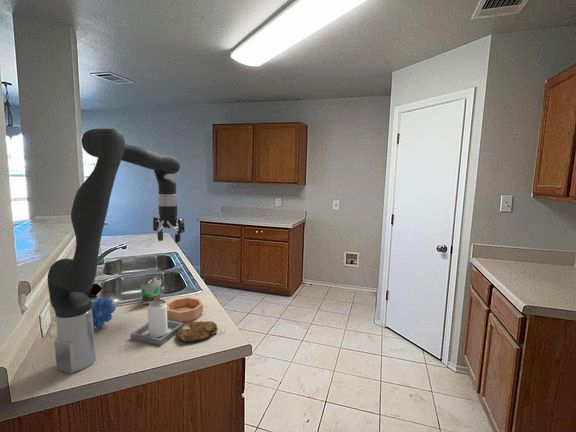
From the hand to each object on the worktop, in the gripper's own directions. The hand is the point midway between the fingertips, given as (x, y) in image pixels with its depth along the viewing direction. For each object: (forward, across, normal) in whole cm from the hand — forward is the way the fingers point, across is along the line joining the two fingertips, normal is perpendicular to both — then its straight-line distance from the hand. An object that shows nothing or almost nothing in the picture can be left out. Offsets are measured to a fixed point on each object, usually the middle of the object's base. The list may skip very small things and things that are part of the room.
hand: (169, 241), depth 136 cm
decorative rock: (+30, +25, -18) cm, 43 cm away
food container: (+29, -10, +1) cm, 31 cm away
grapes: (+29, -13, -26) cm, 41 cm away
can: (+29, +11, -22) cm, 38 cm away
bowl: (+29, +11, -6) cm, 32 cm away
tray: (+29, +11, -22) cm, 38 cm away
